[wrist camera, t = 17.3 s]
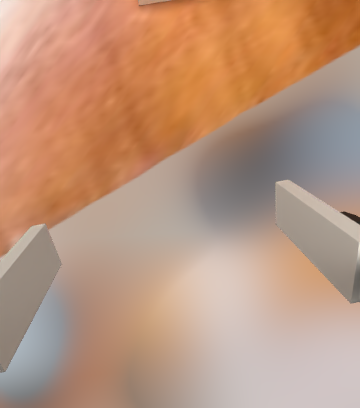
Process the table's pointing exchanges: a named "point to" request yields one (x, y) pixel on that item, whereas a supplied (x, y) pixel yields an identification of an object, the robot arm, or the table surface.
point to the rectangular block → (150, 1)
